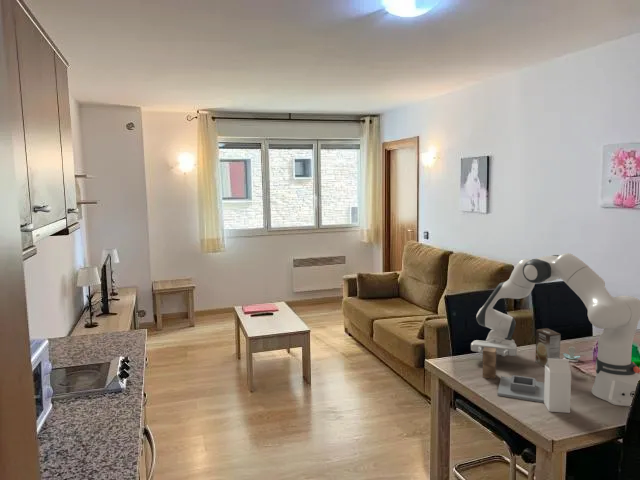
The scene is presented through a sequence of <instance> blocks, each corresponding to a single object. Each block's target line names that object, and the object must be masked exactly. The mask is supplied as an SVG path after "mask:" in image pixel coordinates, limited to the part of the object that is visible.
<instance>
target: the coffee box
mask: <svg viewBox="0 0 640 480" xmlns="http://www.w3.org/2000/svg"><path fill="white" fill-rule="evenodd" d="M535 333H536V334H535V358H534V359H535V360H534V361H535V363H536V364H538V365H540V366H542V367H543V368H545V365H546V363H547V361H548V358H549V359H561V340H562V339H561V338H562V337H561V335H562V334H561V333H559V332H557V331H555V330H553V329H550V328H548V327H545V328H539V329H536V331H535Z"/></svg>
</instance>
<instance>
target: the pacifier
mask: <svg viewBox="0 0 640 480" xmlns="http://www.w3.org/2000/svg"><path fill="white" fill-rule="evenodd" d="M567 351H568V352H569V353H566V352H563V353H562V355H563V358H562V359H568V360H569V362H571V363H576V362H577V363H578V362H579V358H581V355H576V356H575V353H576V347H574V346H569V347H568V350H567Z"/></svg>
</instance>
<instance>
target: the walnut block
mask: <svg viewBox="0 0 640 480" xmlns="http://www.w3.org/2000/svg"><path fill="white" fill-rule="evenodd" d="M496 375H497V354H496V348H488V347H484V349H483V354H482V378H484V379H485V378H486V379H491V380H492V379H493V380H495V379H496V377H497V376H496Z"/></svg>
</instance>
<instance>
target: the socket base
mask: <svg viewBox="0 0 640 480" xmlns="http://www.w3.org/2000/svg"><path fill="white" fill-rule="evenodd" d="M544 383H545V381H544V382H543V381H539V380H536V378H535V377H528V376H523V375H516V374H515V375H514V374H513V375H511V377H509V376H501V377H500V381H499V385H498V388H497V389H498V390H497V396H499V397H505V398H511V399H518V400H519V399H520V400H524V401H530V402H537V403H544Z"/></svg>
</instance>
